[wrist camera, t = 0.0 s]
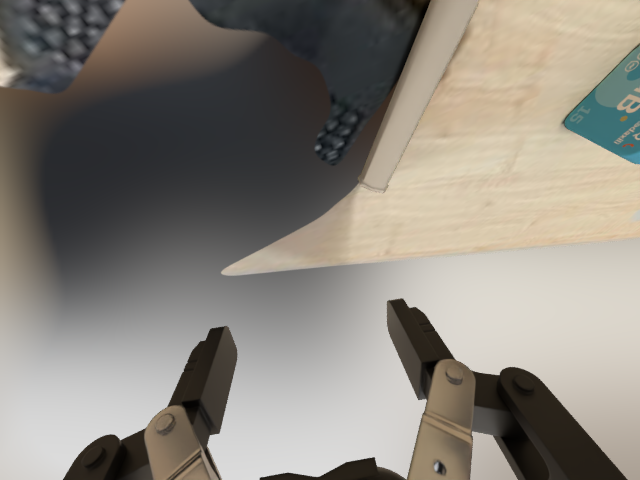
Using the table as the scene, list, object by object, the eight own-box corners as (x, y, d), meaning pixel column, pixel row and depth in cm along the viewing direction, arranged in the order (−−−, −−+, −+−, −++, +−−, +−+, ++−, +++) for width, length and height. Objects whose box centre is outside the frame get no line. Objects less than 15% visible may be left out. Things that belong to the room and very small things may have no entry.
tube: (447, -39, 23) (356, 186, 40) (500, -20, 23) (387, 196, 40) (438, -31, 27) (358, 171, 44) (483, -15, 27) (387, 180, 44)
